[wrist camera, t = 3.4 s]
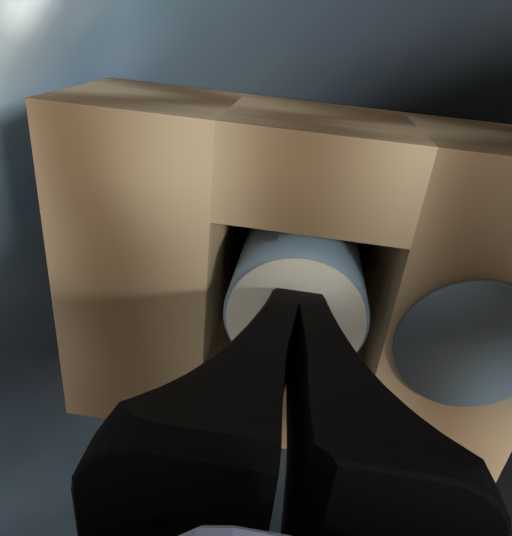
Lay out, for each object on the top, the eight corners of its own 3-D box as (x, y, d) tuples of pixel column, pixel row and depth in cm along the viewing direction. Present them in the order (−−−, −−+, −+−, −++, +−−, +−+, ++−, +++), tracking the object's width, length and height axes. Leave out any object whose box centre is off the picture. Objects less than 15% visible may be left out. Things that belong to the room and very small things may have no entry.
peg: (366, 200, 16) (385, 268, 11) (345, 298, 18) (354, 390, 13) (252, 185, 16) (227, 245, 12) (243, 283, 18) (218, 369, 14)
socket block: (549, 128, 14) (657, 175, 10) (454, 377, 19) (497, 489, 14) (110, 77, 15) (20, 99, 11) (122, 327, 20) (63, 417, 15)
